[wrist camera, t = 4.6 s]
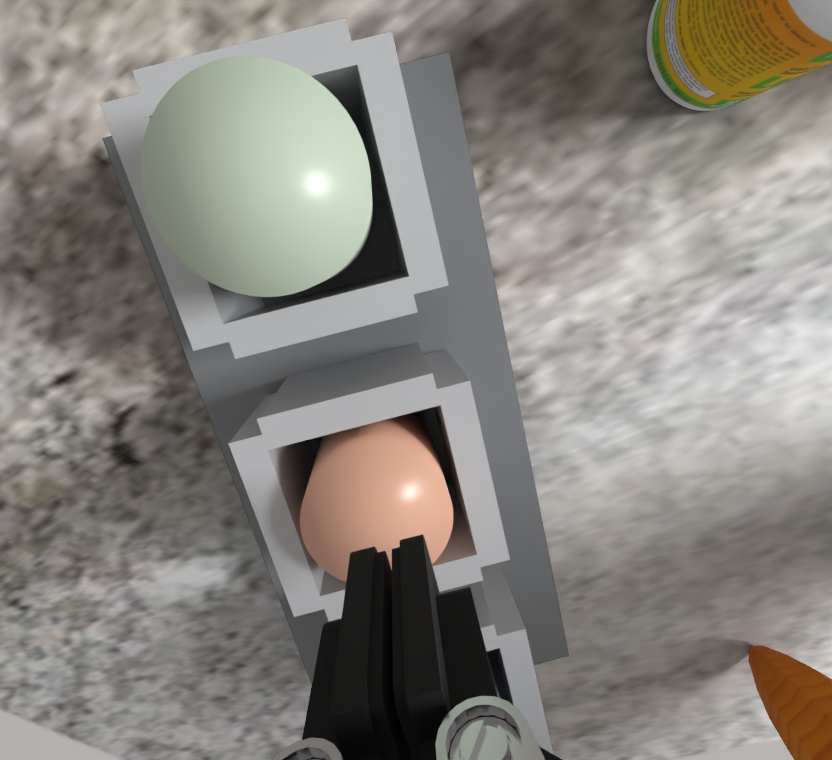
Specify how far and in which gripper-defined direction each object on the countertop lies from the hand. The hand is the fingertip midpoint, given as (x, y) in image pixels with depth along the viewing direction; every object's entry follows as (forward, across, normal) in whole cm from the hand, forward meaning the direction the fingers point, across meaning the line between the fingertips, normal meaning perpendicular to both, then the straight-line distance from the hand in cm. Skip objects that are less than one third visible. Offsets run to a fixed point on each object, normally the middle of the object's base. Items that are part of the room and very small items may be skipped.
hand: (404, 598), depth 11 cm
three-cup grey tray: (+11, +1, 0) cm, 11 cm away
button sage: (+6, +1, -9) cm, 11 cm away
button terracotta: (+8, +1, 0) cm, 8 cm away
